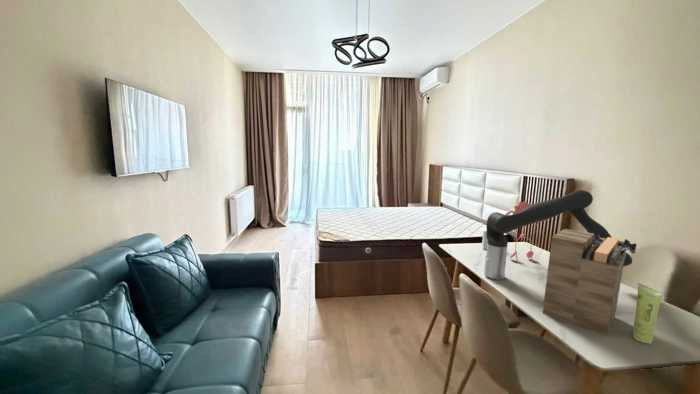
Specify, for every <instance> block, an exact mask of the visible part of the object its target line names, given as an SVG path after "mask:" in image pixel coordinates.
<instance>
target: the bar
mask: <svg viewBox="0 0 700 394" xmlns="http://www.w3.org/2000/svg"><path fill="white" fill-rule="evenodd" d="M611 237H612V236H611ZM611 237H608V238H607V239H606V240H605V241H604V242H603V243H602V244H601V245H600V247H599V248H598V249H597V250H596V251H595V255H594V261H596V262H601V263H605V264H606V263H607V262H608V260H609V259H610V257H611V256H612V254H613V253H614V251H615V250H616V249H617V247H618V243H619V241H620V238H616V237H612V238H611Z"/></svg>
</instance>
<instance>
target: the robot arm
mask: <svg viewBox="0 0 700 394" xmlns="http://www.w3.org/2000/svg"><path fill="white" fill-rule="evenodd" d="M593 199H594V197H593V195H592V193H590V192H589V191H587V190H583V189H577V190H574V191H573V192H570V193H568V194H566V195H562V196H559V197H556V198H555V197H554V198H551V199H547V200H542V201H540V202H536V203H531V204H532V205H529V206H528V207H526V208H525V209H524V210H523V211H522V212H520V213H517V214H513V213H512V214H509V215H505V213H504V214H503V213H501V212H497V211H496V212H492V213H490V214H489V215H488V218H487V219H486V220H487V221H486V228H487V229H486V237H487V240H488V242H487V249H486V255H485V257H484V258H485V260H484V261H485V262H484V271H483V272H484V277H485V278H488V277H489V279H491V280H497V281H498V280H499V281H500V280H505V276H506V265H507V255H508V244H509V243H508V242H509V241H508V238H507V237H506V236H505V234H507V233H510V232H513V231H515V230H517V229H519V228H522V227H523V228H524V226H525V227H526V226H529V225H533V224H537V223H538V222H539V223H540V222H545V221H544V220H546V221H548V220H549V219H552V218H554V217H556V216H559V215H561V214H562V213H565V212H569V213H570V214H571V215H572V216H573V217H574V219H576V220H577V221H578V223H579V224H580V225H581V227H583V228H584V229H585V230H586V232H587V233H593V234H594V239H593V245H594V244H595V243H596V242H600V245H601V244H602V243H603V242H604V241H605V240H606V239H607V238H608V237H611V238H613V237H612V235H611V233H609V231H608V230H607V229H606V228H605V227H604V226H603V225H602V224H600V223H599V222H597V221H596V220H594V218H592V217H591V216H589V214H588V213H587V211H586V208H588V207H589V206H590V205H592V202H593ZM547 219H548V220H547ZM637 245H638V244H637V243H634V242H633V243H631V241H630V240H628V239H626V238H624V240H622V241H621V240H619V243H618V246H622V250H621V254H624V255H625V259H624V265H623V268H624V267H628V266H630V265H632V263H633V258H632V256H631V255H630V254H629V253H628V252H627V251H629V252H630V253H631V254H636V250H637V249H636V248H637Z"/></svg>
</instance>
